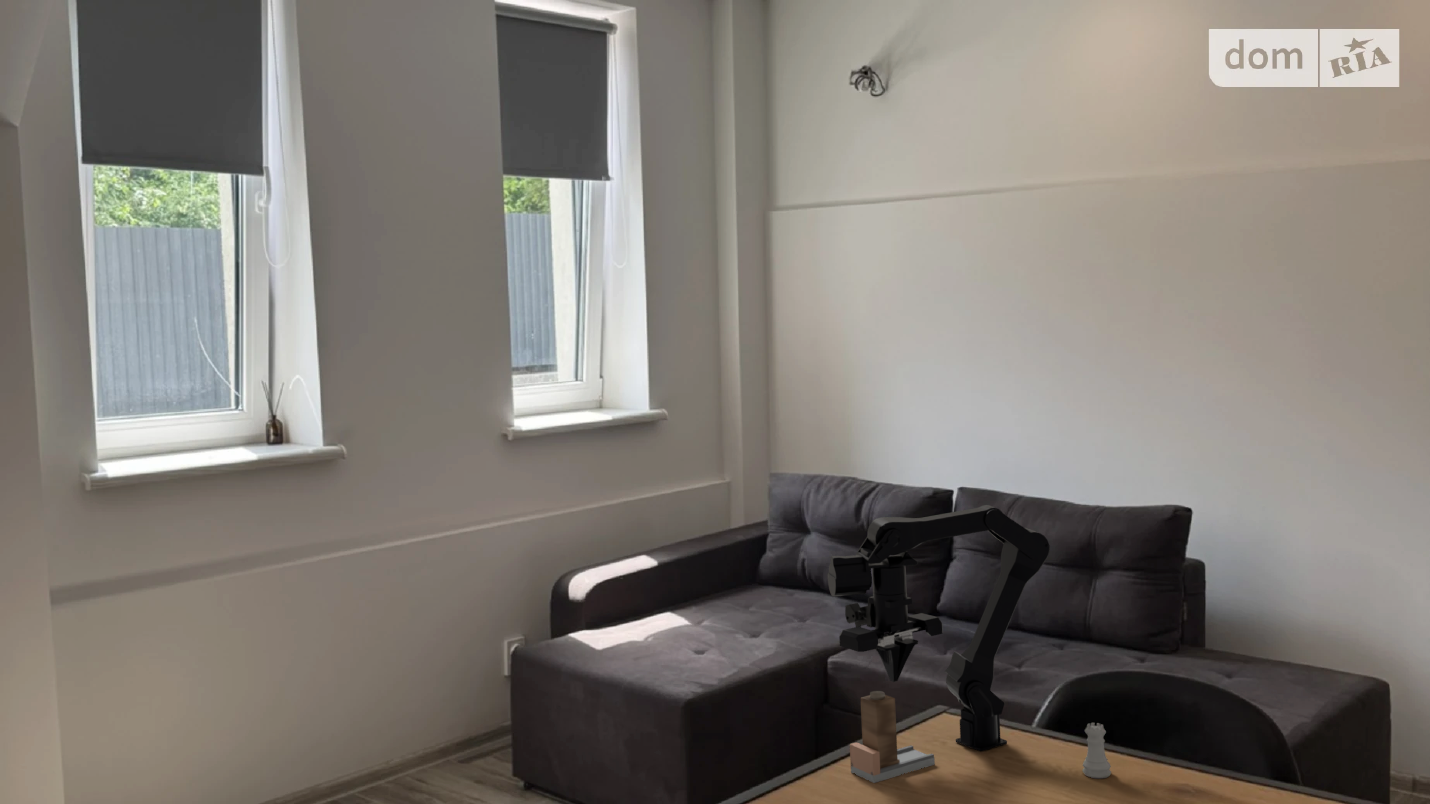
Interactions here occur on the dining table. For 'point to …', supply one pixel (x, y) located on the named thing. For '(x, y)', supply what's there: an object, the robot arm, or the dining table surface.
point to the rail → (868, 766)
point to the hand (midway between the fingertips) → (893, 681)
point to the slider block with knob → (880, 726)
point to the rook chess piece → (1096, 753)
